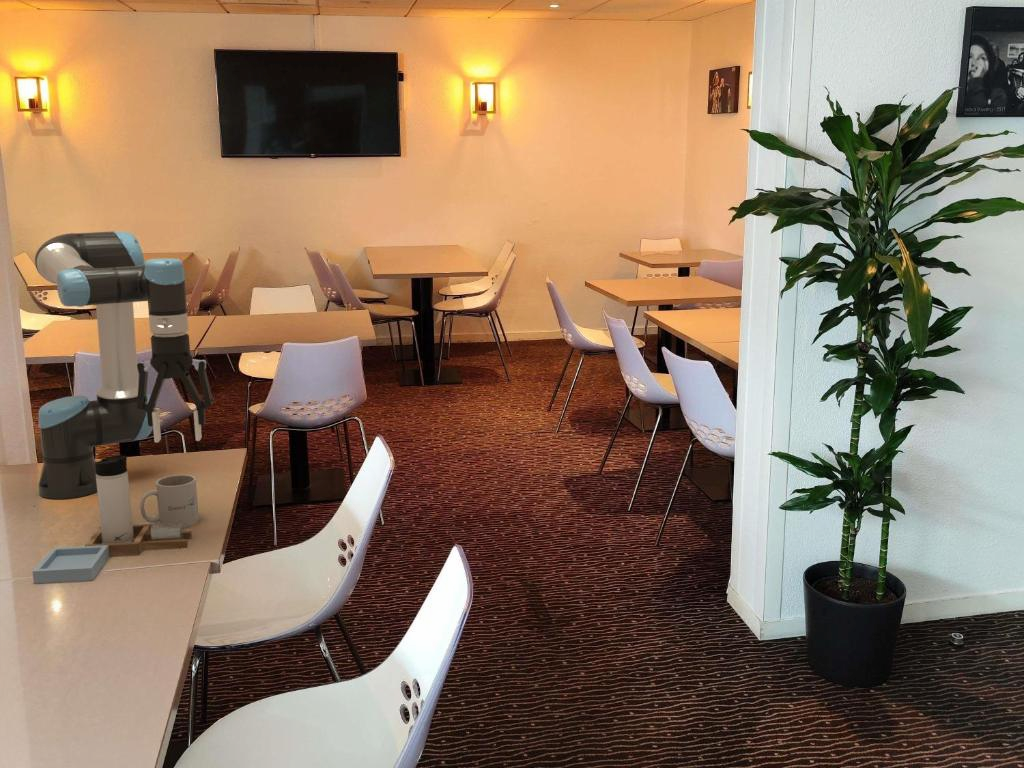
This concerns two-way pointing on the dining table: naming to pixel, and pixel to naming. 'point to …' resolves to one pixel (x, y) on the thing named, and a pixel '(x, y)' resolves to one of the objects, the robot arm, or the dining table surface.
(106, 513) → the travel mug
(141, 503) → the mug
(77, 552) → the tray
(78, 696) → the dining table surface
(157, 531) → the light gray block
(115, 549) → the brown flat open frame
